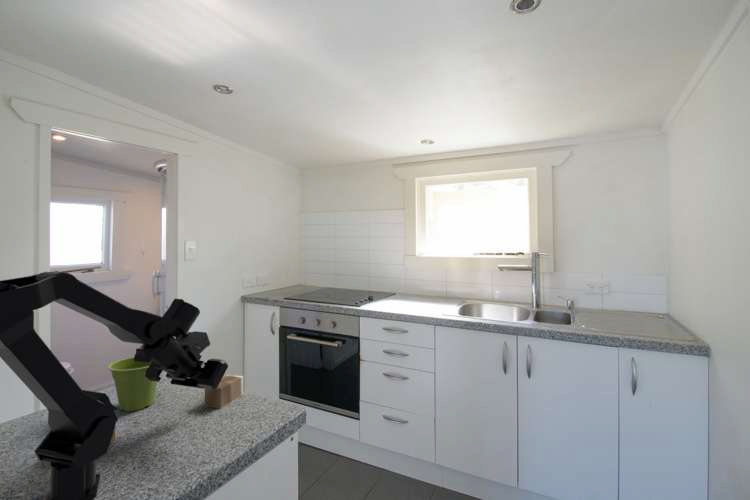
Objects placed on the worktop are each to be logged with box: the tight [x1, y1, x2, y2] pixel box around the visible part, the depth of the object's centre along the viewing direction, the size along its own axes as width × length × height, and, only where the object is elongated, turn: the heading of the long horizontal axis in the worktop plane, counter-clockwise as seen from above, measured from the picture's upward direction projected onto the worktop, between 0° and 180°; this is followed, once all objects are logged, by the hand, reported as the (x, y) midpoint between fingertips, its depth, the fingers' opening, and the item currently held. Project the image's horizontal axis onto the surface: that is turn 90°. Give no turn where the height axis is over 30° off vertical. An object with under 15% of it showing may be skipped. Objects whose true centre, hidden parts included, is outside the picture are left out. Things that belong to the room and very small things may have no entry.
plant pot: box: [107, 356, 158, 412], centre depth 89 cm, size 12×12×11 cm
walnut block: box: [204, 373, 244, 409], centre depth 94 cm, size 5×5×9 cm
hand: (204, 386), depth 86 cm, fingers closed
